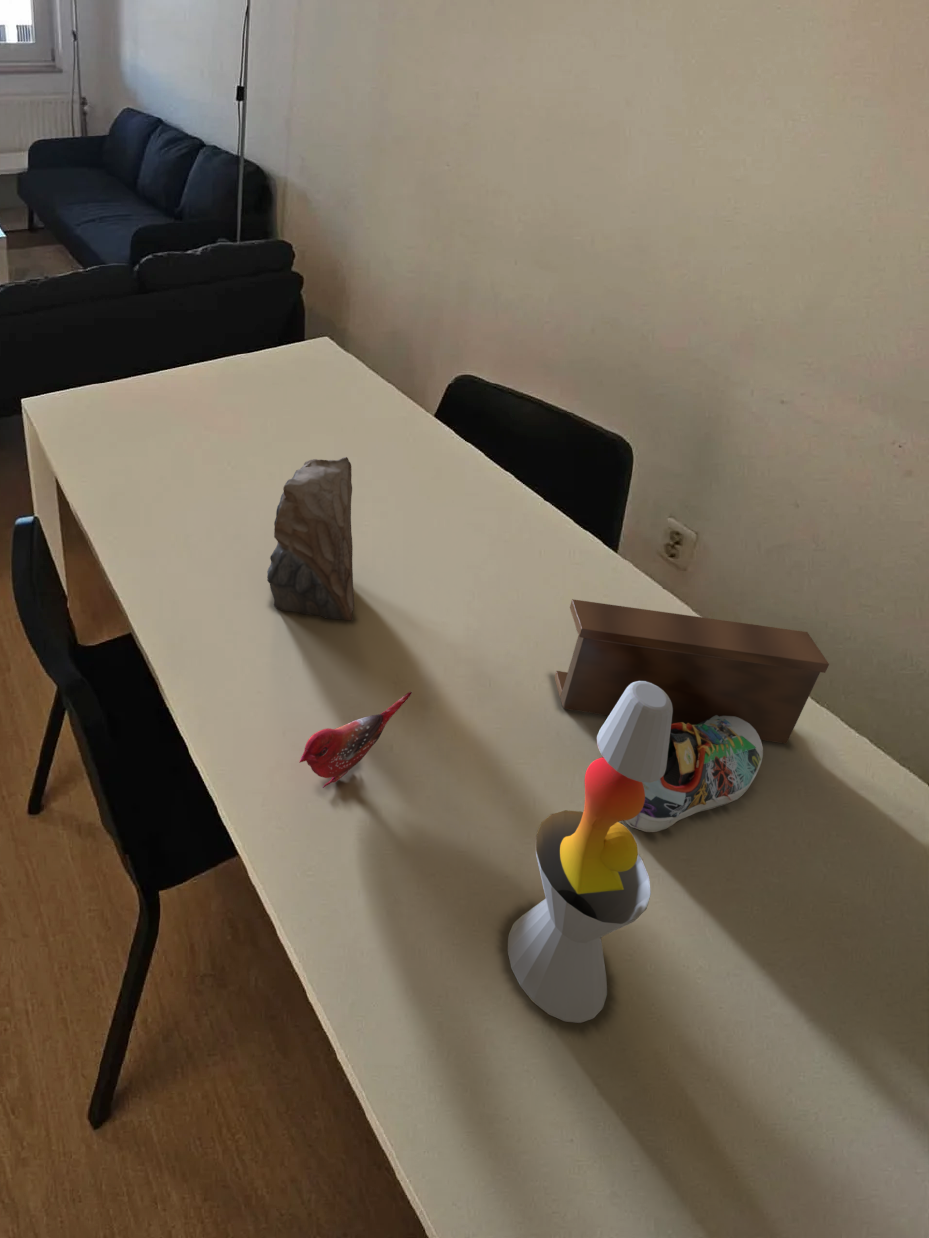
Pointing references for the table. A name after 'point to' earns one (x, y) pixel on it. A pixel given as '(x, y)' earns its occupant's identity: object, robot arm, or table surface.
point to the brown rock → (314, 542)
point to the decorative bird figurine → (345, 744)
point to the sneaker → (701, 771)
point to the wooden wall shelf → (691, 666)
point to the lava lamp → (592, 864)
